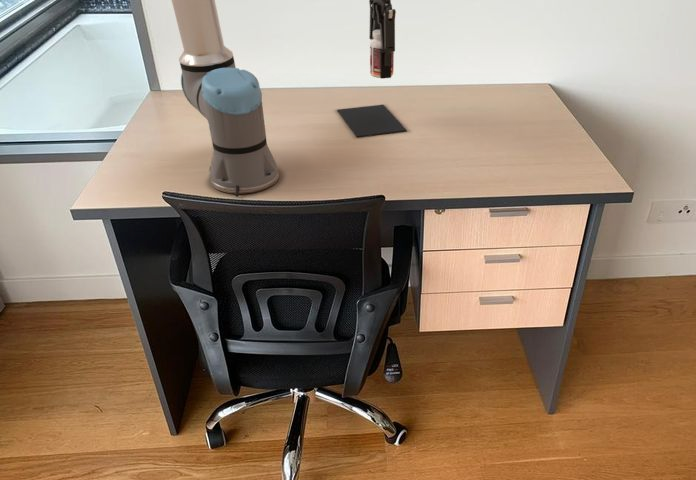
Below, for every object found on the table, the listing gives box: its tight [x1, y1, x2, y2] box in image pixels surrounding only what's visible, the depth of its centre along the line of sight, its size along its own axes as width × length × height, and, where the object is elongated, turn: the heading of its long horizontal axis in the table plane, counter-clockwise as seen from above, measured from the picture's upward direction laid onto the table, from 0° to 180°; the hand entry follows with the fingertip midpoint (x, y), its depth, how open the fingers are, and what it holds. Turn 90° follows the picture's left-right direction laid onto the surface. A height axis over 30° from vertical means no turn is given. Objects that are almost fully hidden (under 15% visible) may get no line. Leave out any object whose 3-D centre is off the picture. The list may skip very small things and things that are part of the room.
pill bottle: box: [369, 29, 395, 79], centre depth 152 cm, size 6×6×11 cm
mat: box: [337, 104, 408, 138], centre depth 164 cm, size 20×14×1 cm
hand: (381, 73), depth 155 cm, fingers closed on pill bottle, 6 cm apart
